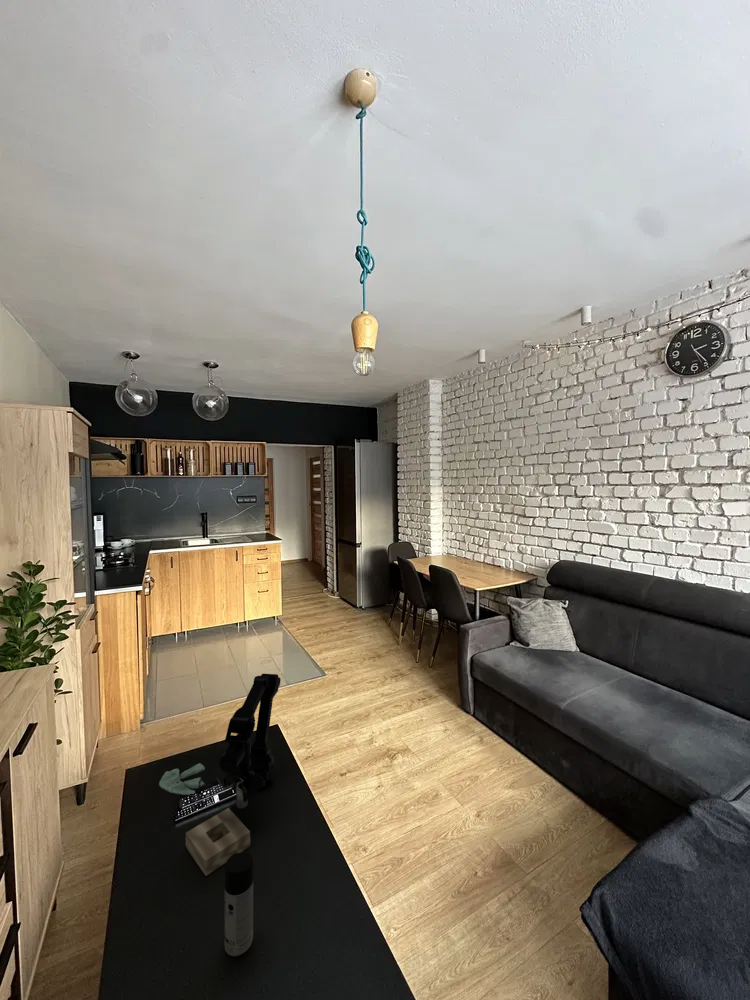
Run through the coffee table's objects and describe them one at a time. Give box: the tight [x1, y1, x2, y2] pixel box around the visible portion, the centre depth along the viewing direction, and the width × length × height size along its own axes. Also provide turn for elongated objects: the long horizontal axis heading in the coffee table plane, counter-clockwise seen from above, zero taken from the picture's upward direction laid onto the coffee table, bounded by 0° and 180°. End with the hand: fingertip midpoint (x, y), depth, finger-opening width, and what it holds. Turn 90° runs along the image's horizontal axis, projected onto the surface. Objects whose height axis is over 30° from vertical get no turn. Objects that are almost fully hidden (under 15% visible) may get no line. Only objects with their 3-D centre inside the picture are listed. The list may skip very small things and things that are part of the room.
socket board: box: [185, 807, 251, 877], centre depth 129 cm, size 14×14×4 cm
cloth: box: [158, 763, 206, 796], centre depth 159 cm, size 20×22×2 cm
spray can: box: [223, 851, 254, 958], centre depth 101 cm, size 7×7×20 cm
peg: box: [236, 778, 249, 809], centre depth 140 cm, size 4×4×8 cm
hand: (242, 798), depth 140 cm, fingers closed on peg, 3 cm apart
